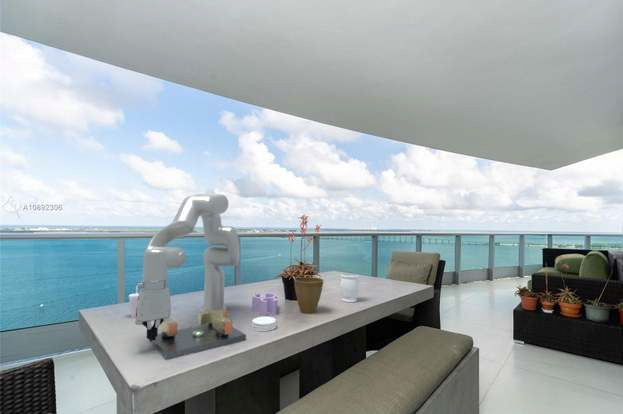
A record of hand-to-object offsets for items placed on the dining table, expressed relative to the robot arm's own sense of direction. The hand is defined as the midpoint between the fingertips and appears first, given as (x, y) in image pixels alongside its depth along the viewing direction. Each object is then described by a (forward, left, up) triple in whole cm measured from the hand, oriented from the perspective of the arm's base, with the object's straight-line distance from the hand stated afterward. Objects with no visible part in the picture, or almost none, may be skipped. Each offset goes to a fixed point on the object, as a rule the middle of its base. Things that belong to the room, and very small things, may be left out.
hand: (151, 339), depth 106 cm
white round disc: (+4, +42, -4) cm, 43 cm away
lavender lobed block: (-19, +57, -4) cm, 61 cm away
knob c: (+6, +22, -1) cm, 23 cm away
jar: (-7, +107, -3) cm, 108 cm away
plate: (+2, +15, -3) cm, 16 cm away
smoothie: (-45, +4, -3) cm, 45 cm away
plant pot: (-4, +73, -3) cm, 73 cm away
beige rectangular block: (-5, +24, -1) cm, 24 cm away
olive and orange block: (-3, +6, -1) cm, 7 cm away
